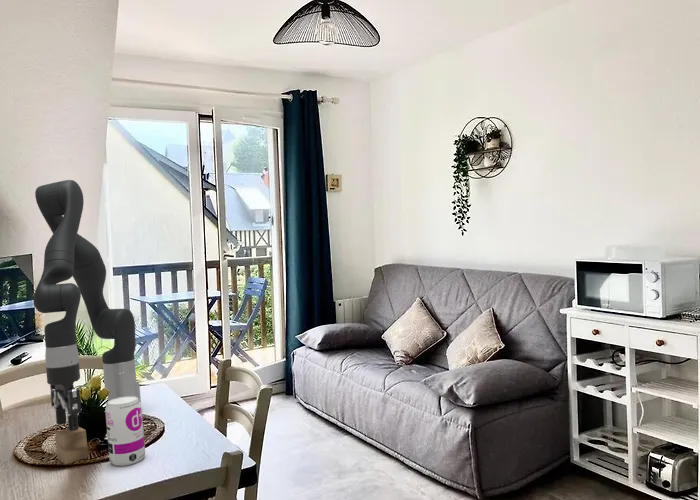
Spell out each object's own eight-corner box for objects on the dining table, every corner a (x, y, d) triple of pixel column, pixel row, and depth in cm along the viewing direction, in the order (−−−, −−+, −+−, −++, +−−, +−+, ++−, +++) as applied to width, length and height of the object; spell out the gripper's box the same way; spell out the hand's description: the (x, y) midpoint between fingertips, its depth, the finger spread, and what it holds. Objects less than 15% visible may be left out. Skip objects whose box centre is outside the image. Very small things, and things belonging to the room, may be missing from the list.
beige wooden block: (79, 452, 155) (77, 426, 155) (88, 457, 151) (85, 430, 151) (57, 459, 151) (55, 432, 151) (65, 464, 148) (63, 436, 147)
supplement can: (152, 455, 149) (147, 396, 149) (127, 468, 142) (122, 406, 141) (128, 452, 153) (123, 394, 152) (102, 465, 145) (97, 404, 145)
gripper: (88, 363, 148) (93, 428, 148) (68, 357, 158) (72, 418, 159) (56, 369, 143) (61, 436, 143) (37, 363, 153) (42, 425, 153)
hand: (67, 426), depth 151 cm, fingers open, 8 cm apart
